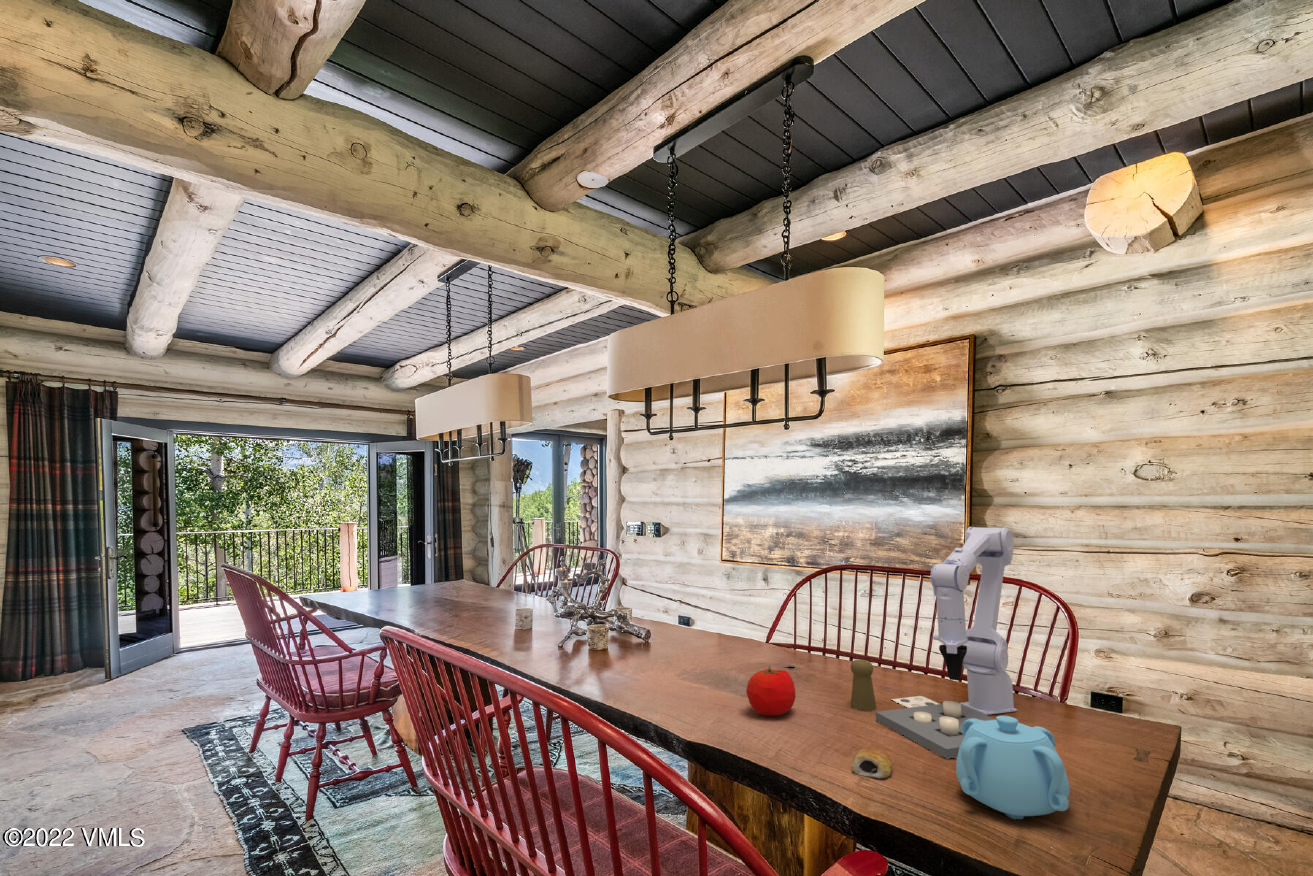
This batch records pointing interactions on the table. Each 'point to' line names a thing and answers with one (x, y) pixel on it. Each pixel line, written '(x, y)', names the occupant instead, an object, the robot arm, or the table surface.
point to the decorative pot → (1012, 767)
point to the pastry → (872, 763)
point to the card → (914, 701)
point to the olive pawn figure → (862, 686)
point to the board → (928, 727)
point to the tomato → (771, 692)
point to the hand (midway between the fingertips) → (954, 679)
